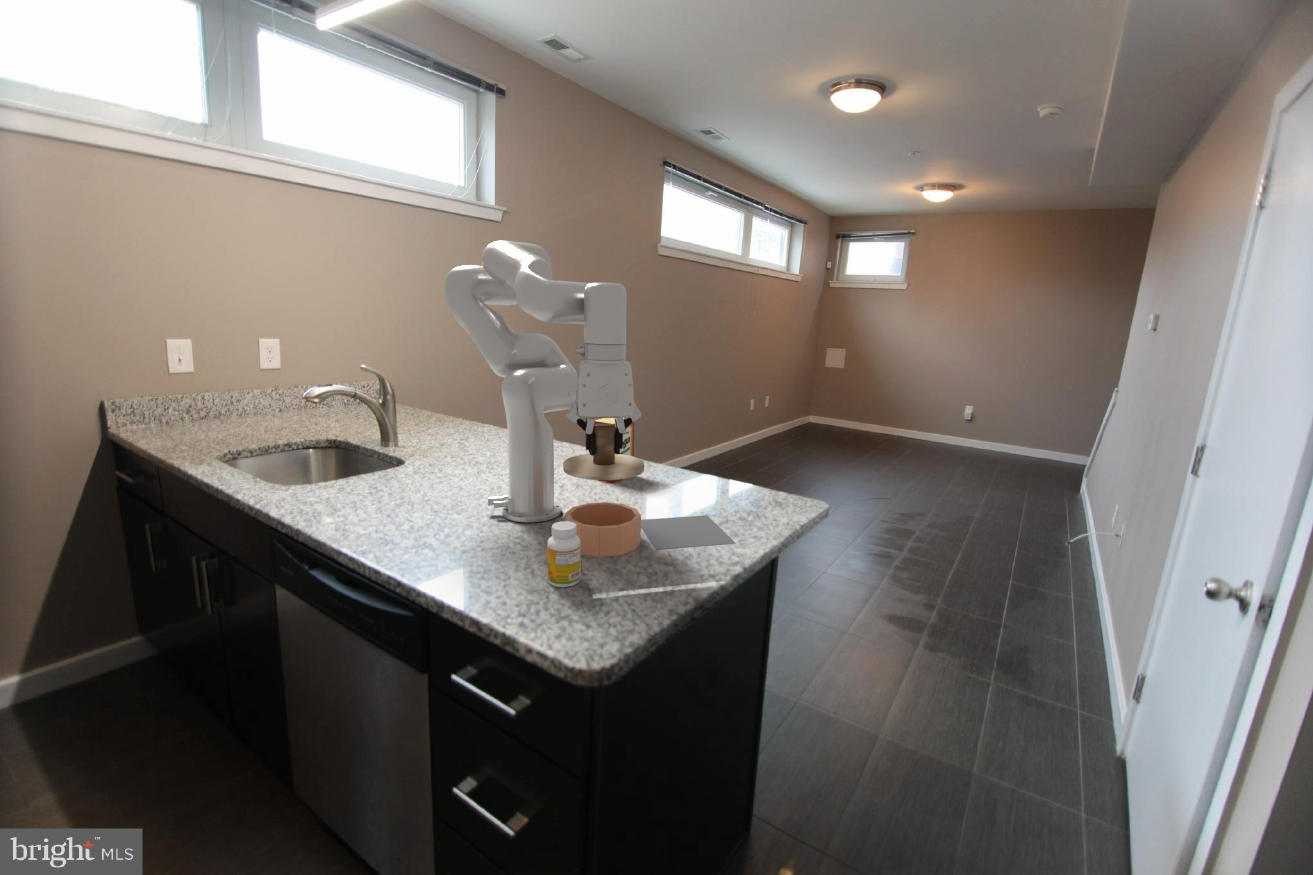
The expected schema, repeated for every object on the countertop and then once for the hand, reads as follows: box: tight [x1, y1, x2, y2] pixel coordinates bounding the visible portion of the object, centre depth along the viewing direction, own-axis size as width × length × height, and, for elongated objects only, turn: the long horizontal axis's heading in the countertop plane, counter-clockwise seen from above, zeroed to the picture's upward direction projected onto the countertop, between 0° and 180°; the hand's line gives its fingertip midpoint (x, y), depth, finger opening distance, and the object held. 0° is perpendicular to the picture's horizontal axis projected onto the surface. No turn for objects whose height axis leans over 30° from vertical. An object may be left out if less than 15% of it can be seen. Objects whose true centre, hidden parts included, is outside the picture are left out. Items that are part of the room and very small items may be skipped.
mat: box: [641, 514, 736, 551], centre depth 119 cm, size 16×16×1 cm
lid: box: [562, 424, 645, 481], centre depth 109 cm, size 15×15×8 cm
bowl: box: [564, 501, 642, 558], centre depth 112 cm, size 14×14×6 cm
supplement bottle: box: [546, 520, 582, 588], centre depth 96 cm, size 5×5×10 cm
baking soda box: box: [593, 417, 635, 484], centre depth 156 cm, size 10×6×16 cm
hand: (604, 452), depth 109 cm, fingers closed on lid, 4 cm apart
